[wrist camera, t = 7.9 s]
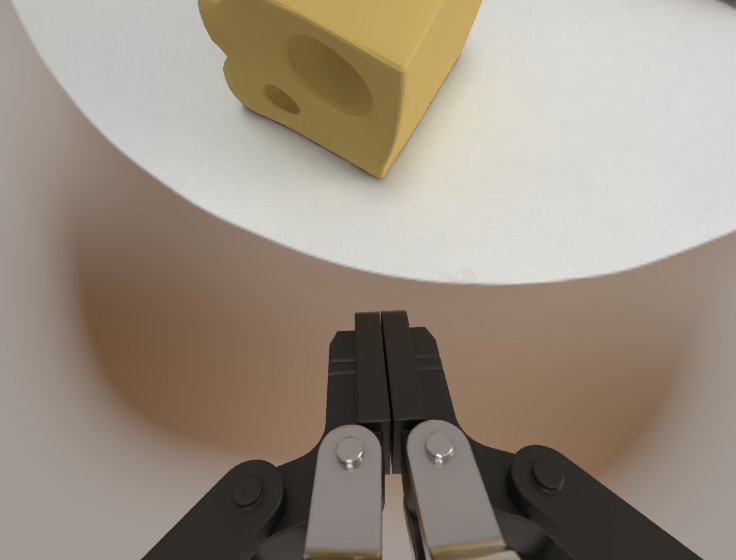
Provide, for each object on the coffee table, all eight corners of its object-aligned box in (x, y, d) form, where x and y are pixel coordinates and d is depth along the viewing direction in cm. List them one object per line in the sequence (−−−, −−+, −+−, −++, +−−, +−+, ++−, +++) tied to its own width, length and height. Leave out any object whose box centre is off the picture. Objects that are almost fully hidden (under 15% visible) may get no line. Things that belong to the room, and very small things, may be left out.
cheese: (238, 109, 23) (147, -60, 13) (330, -23, 25) (310, -263, 15) (386, 192, 23) (405, 80, 13) (471, 52, 24) (548, -146, 14)
